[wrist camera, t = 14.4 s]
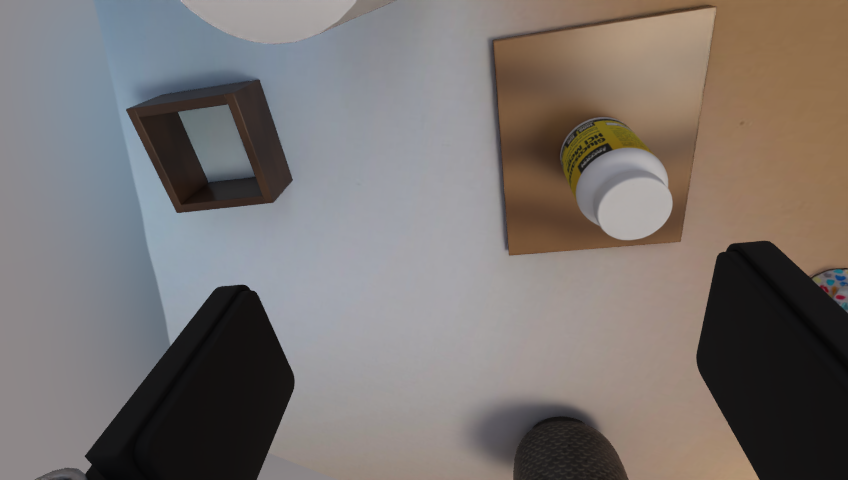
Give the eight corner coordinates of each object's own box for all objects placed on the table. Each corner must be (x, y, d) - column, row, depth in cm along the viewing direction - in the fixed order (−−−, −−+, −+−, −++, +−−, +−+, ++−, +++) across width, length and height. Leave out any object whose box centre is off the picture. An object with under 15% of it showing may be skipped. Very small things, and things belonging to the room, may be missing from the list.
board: (492, 39, 36) (493, 41, 35) (711, 5, 33) (717, 6, 32) (508, 250, 46) (509, 255, 45) (676, 236, 43) (680, 241, 42)
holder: (161, 94, 40) (125, 109, 36) (259, 79, 39) (233, 92, 35) (204, 190, 45) (176, 213, 41) (293, 180, 44) (273, 203, 39)
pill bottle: (580, 104, 37) (617, 151, 27) (648, 129, 37) (708, 184, 28) (545, 170, 40) (568, 233, 30) (608, 193, 40) (650, 261, 31)
